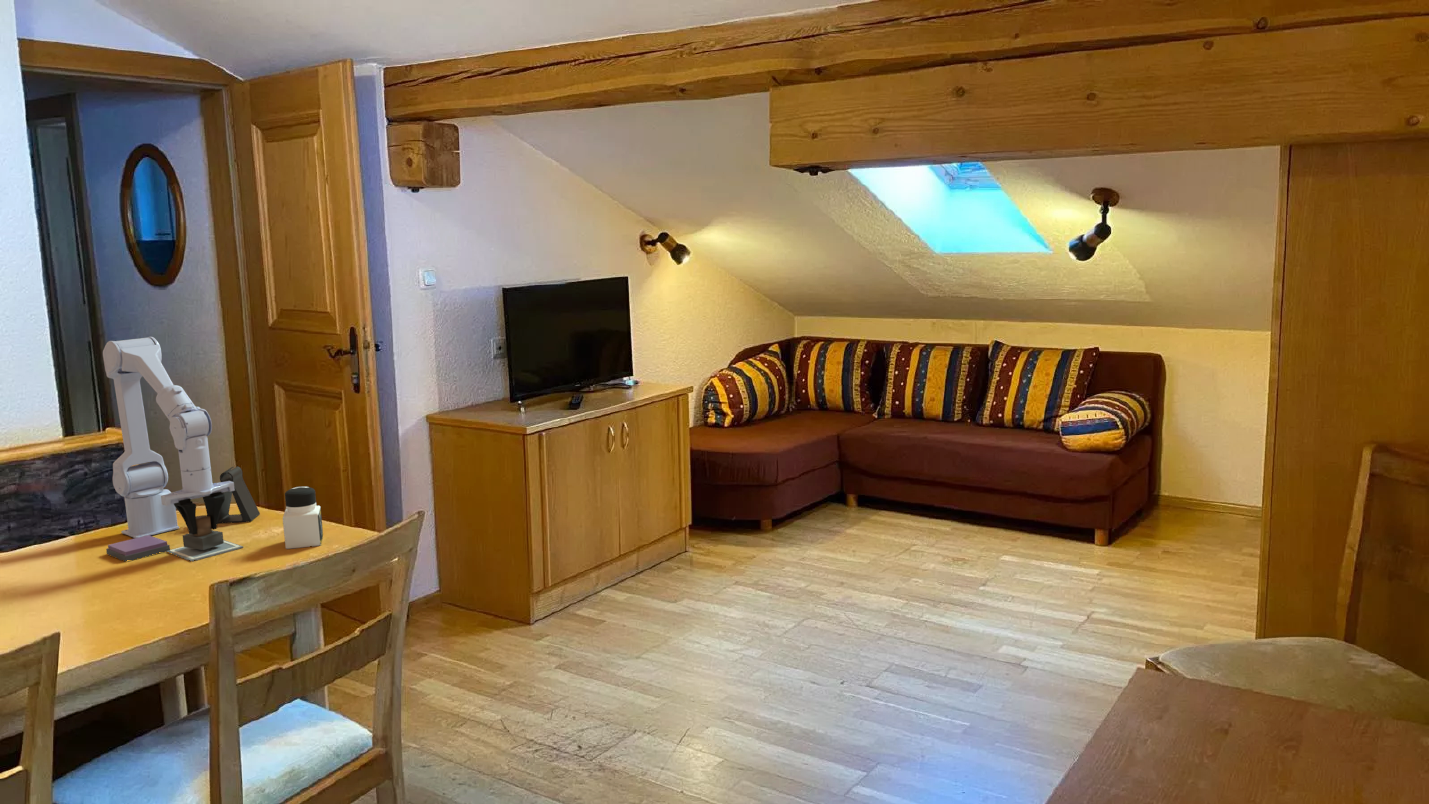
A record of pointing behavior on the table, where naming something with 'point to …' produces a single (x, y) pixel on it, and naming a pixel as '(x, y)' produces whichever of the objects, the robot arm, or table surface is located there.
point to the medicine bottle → (302, 519)
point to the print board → (204, 551)
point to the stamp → (203, 535)
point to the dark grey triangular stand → (237, 499)
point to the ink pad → (137, 548)
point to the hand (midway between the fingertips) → (202, 531)
